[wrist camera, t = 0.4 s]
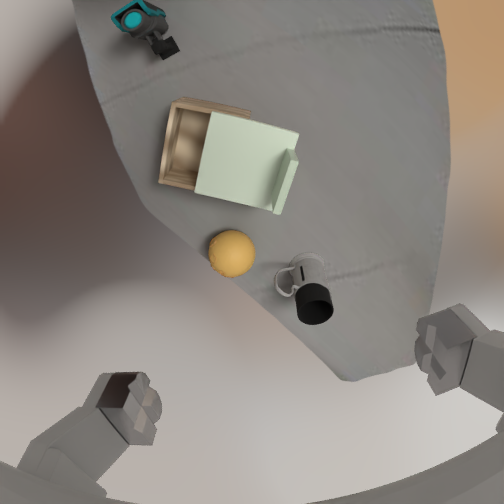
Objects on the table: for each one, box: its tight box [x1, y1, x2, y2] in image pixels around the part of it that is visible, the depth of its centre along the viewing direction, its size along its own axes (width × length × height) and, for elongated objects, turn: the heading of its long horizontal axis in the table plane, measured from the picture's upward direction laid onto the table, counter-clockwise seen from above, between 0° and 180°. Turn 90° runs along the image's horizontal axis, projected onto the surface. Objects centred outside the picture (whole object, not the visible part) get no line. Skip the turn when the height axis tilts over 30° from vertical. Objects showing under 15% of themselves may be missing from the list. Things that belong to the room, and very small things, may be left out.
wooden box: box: [158, 97, 251, 191], centre depth 51 cm, size 15×13×8 cm
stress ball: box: [208, 230, 255, 278], centre depth 64 cm, size 10×10×10 cm
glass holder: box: [274, 253, 334, 325], centre depth 65 cm, size 9×14×15 cm, turn 59°
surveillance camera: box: [111, 0, 180, 60], centre depth 37 cm, size 6×12×10 cm
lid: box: [194, 111, 299, 215], centre depth 46 cm, size 15×14×7 cm
